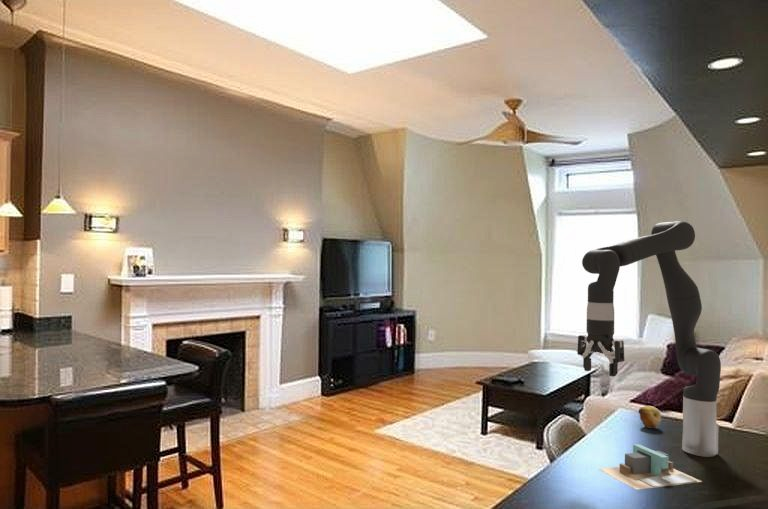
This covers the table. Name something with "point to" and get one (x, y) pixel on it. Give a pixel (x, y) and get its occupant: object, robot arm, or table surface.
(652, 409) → the fruit
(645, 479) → the board
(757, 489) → the table surface
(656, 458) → the green bracket
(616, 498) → the table surface
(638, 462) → the grey block
